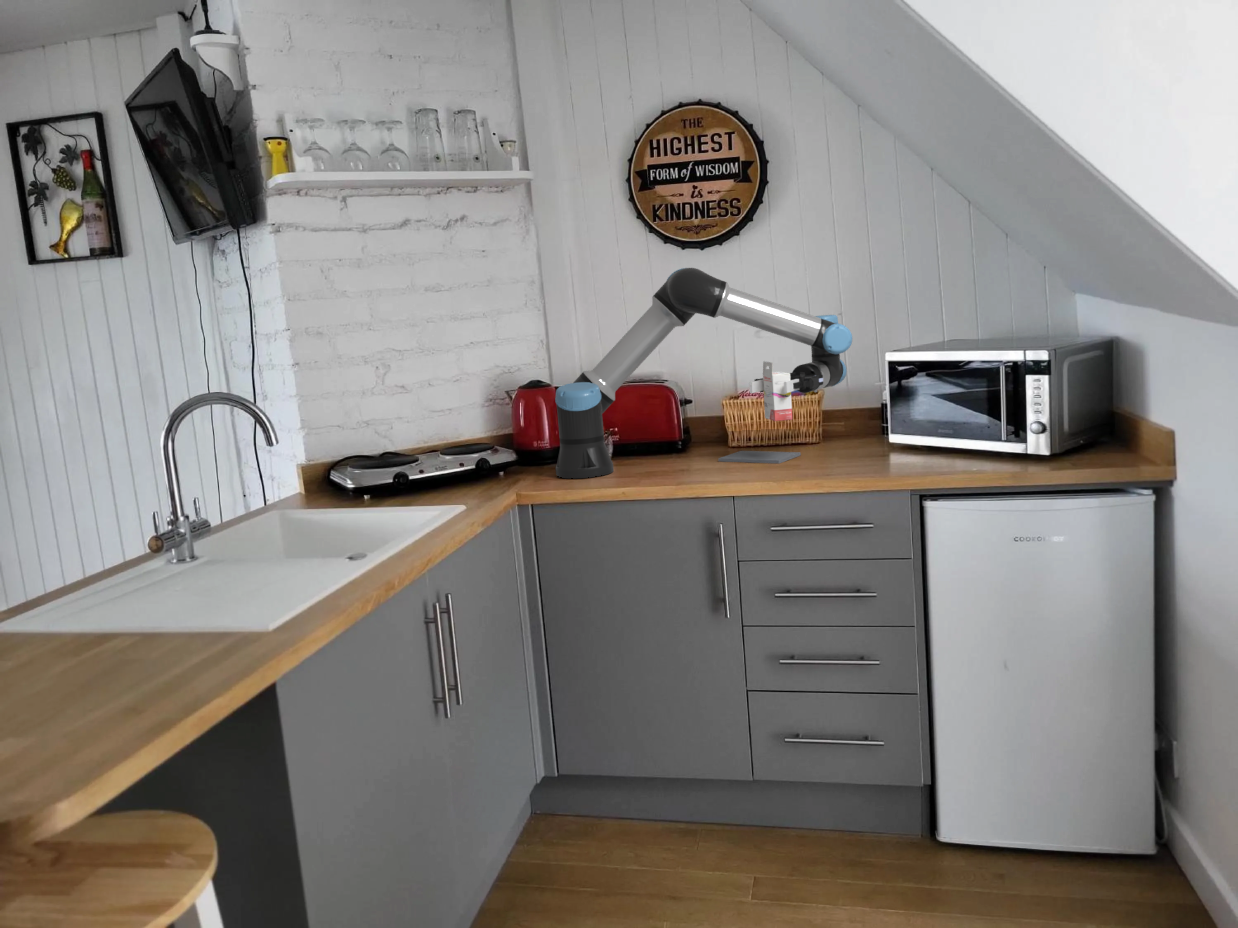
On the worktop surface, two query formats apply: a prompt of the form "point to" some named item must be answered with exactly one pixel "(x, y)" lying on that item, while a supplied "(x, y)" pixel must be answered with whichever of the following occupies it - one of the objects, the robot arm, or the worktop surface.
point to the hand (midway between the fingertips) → (767, 387)
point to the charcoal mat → (759, 457)
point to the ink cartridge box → (776, 394)
